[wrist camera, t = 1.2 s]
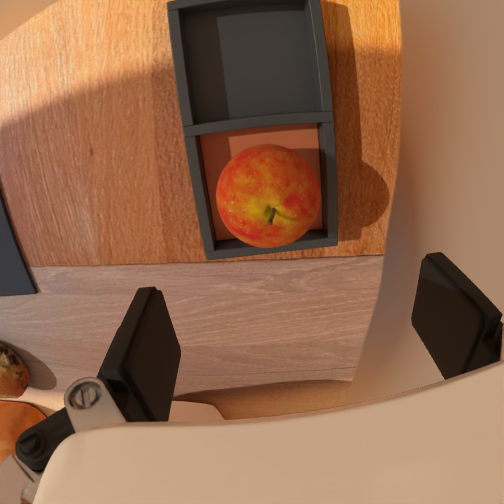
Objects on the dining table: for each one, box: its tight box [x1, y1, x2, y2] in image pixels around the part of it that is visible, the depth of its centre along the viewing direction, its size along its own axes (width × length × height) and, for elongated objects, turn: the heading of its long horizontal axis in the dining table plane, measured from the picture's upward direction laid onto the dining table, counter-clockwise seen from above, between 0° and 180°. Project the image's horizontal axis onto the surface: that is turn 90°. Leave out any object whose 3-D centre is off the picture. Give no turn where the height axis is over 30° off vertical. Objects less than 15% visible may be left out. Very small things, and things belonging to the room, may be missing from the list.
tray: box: [167, 0, 338, 260], centre depth 21 cm, size 20×11×2 cm, turn 6°
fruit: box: [216, 144, 320, 248], centre depth 21 cm, size 7×7×8 cm
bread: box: [0, 401, 47, 463], centre depth 36 cm, size 14×26×16 cm, turn 105°
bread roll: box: [0, 343, 30, 398], centre depth 33 cm, size 10×10×8 cm
